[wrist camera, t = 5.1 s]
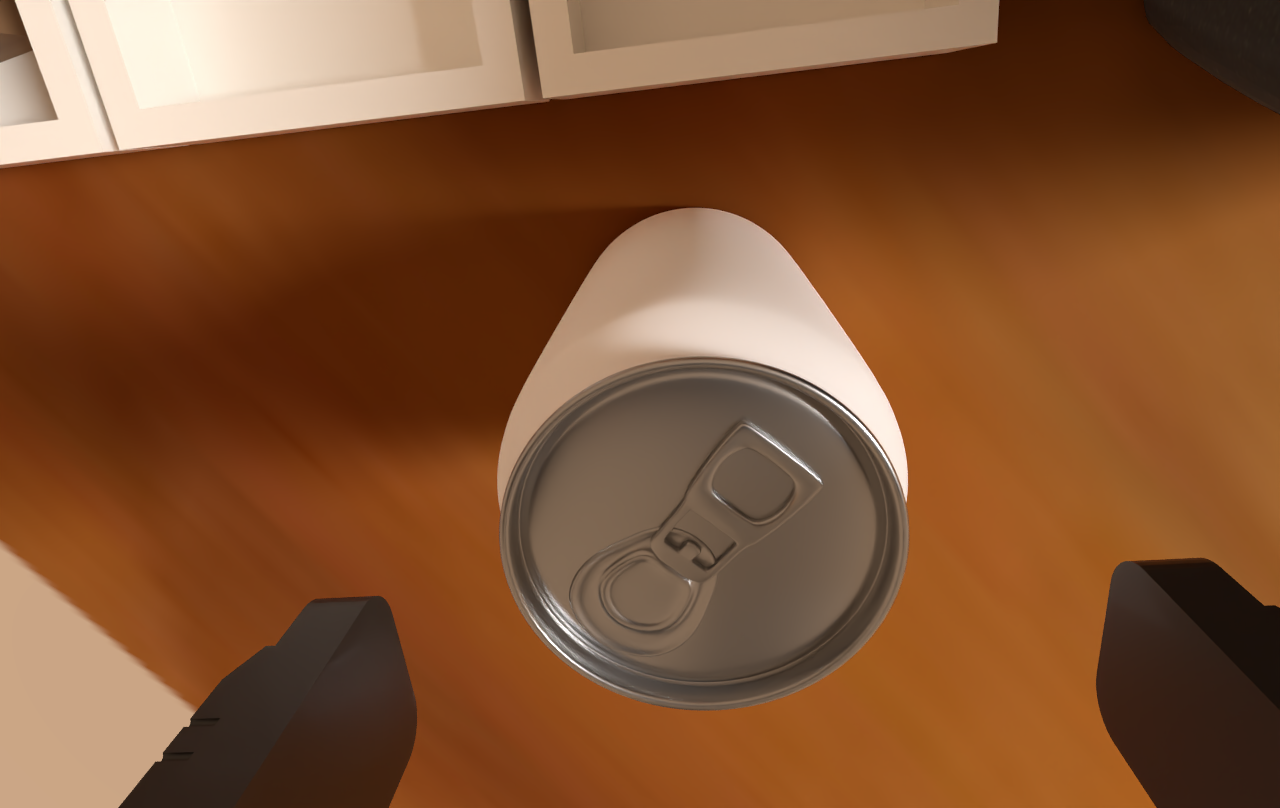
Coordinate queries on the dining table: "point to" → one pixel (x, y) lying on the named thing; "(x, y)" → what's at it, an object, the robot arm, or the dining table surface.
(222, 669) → the dining table surface
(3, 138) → the dish
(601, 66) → the dish
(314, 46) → the dish
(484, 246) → the dining table surface
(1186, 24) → the flower pot
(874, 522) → the can
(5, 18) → the letter cube
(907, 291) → the dining table surface
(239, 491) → the dining table surface
